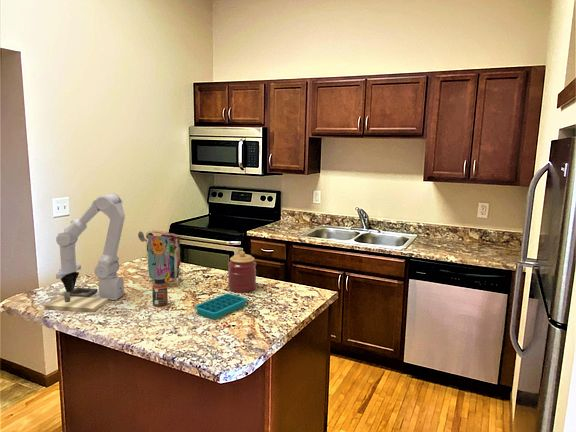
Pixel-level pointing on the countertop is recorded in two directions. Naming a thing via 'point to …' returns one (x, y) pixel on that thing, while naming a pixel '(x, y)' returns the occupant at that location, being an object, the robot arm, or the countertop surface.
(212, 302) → the ice cube tray
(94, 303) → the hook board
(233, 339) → the countertop surface
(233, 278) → the canister
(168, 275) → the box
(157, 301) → the supplement bottle
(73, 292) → the dark grey frame stand
